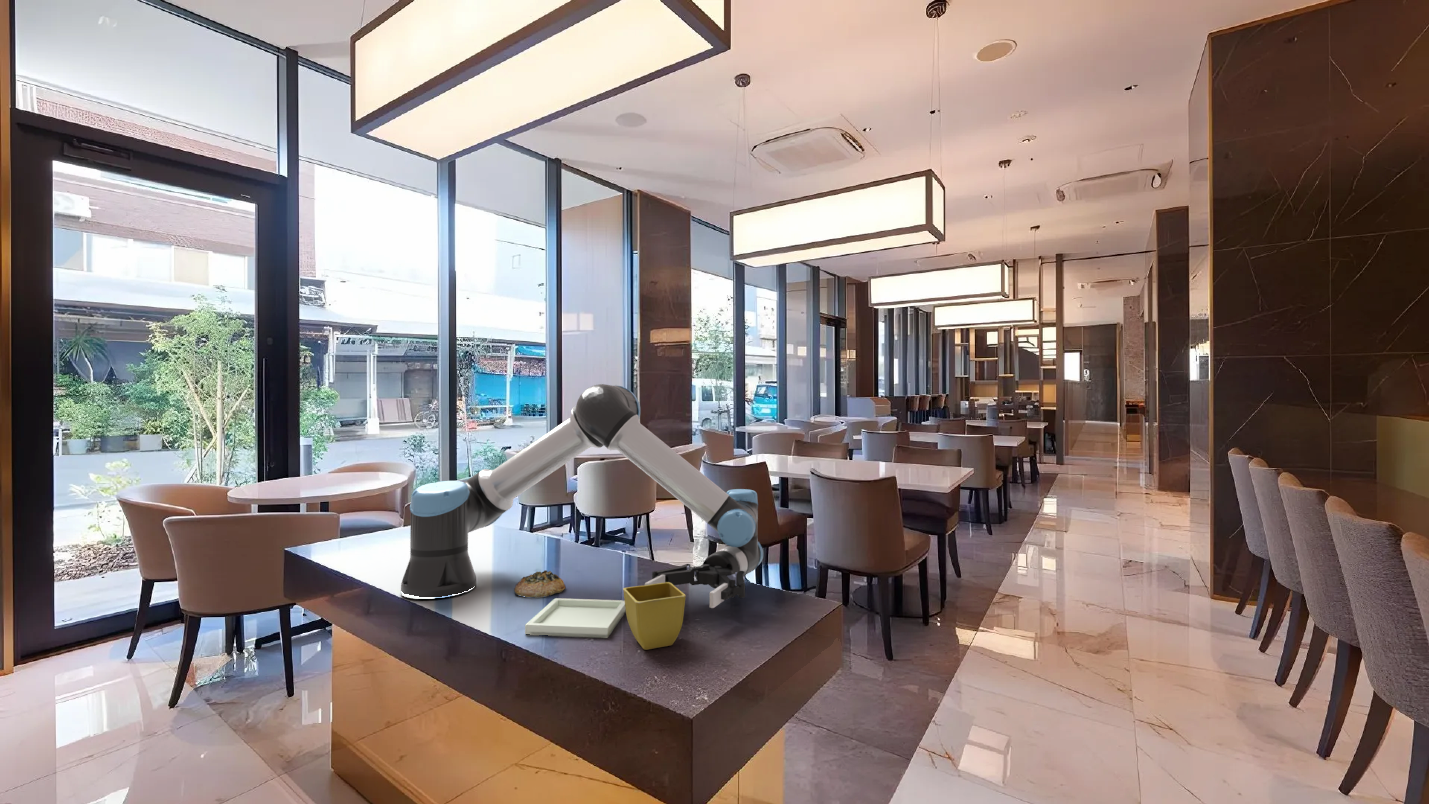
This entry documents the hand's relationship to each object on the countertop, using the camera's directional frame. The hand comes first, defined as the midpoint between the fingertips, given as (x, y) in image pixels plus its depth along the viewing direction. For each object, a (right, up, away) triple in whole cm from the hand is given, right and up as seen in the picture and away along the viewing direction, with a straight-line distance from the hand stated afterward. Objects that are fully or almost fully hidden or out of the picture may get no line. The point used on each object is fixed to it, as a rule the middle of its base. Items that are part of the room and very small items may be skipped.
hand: (678, 595), depth 110 cm
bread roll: (-32, -7, +22) cm, 39 cm away
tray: (-19, -6, +3) cm, 20 cm away
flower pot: (-4, -6, -8) cm, 10 cm away
